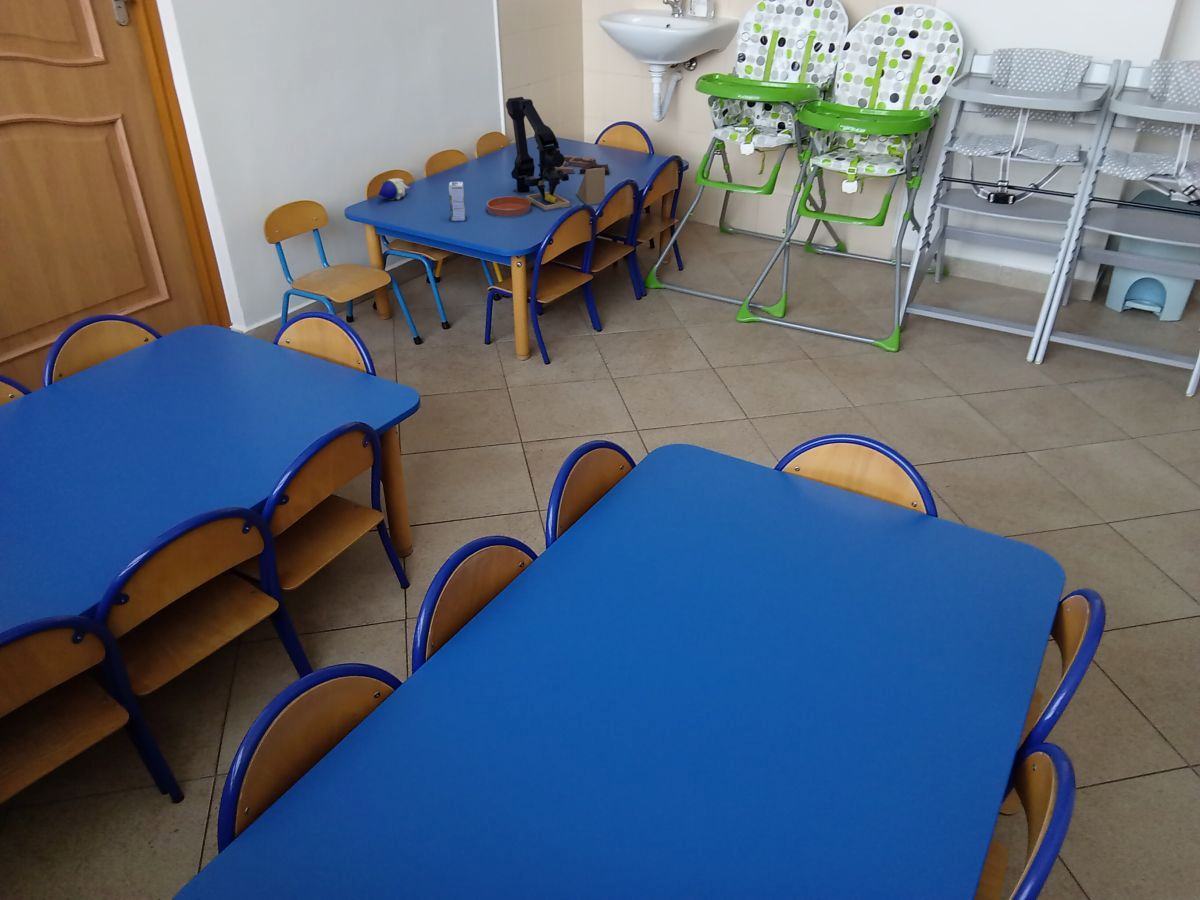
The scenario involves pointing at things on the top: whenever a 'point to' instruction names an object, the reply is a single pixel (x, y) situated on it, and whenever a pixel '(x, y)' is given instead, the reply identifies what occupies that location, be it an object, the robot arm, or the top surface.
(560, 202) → the tray
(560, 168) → the wood carving
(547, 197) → the banana
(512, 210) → the bowl
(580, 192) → the sandwich container
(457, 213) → the syrup box
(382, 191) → the cartoon head
